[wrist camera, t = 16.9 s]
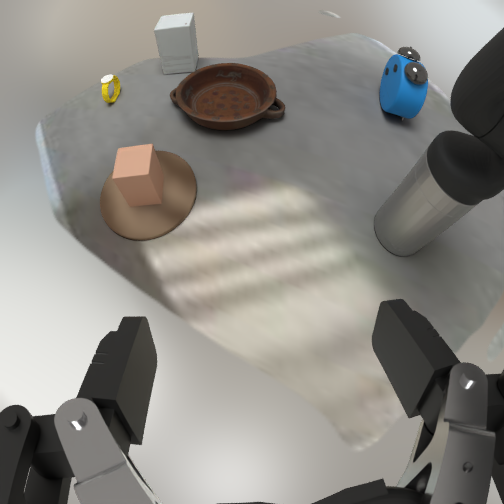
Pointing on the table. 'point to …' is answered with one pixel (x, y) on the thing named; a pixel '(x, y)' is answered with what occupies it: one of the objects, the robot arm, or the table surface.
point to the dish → (227, 96)
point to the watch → (106, 82)
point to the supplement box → (177, 43)
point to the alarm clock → (404, 84)
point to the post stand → (152, 216)
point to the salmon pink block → (139, 175)
